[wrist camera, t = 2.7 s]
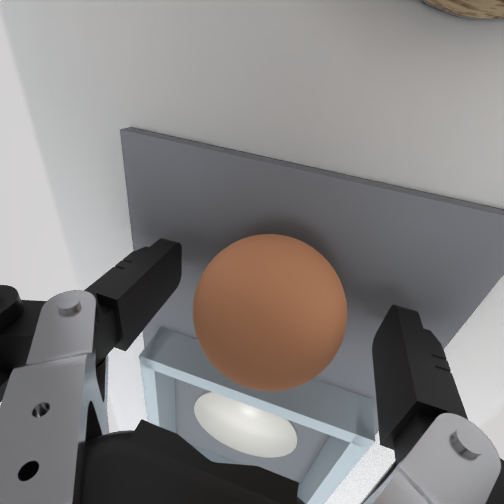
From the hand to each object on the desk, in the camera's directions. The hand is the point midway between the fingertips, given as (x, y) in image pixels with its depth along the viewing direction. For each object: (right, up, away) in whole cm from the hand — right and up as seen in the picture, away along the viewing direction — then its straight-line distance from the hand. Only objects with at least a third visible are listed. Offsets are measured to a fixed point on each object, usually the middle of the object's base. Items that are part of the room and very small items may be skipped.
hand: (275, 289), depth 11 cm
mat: (-1, -5, +6) cm, 8 cm away
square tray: (-1, -10, +8) cm, 13 cm away
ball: (0, +1, +1) cm, 1 cm away
